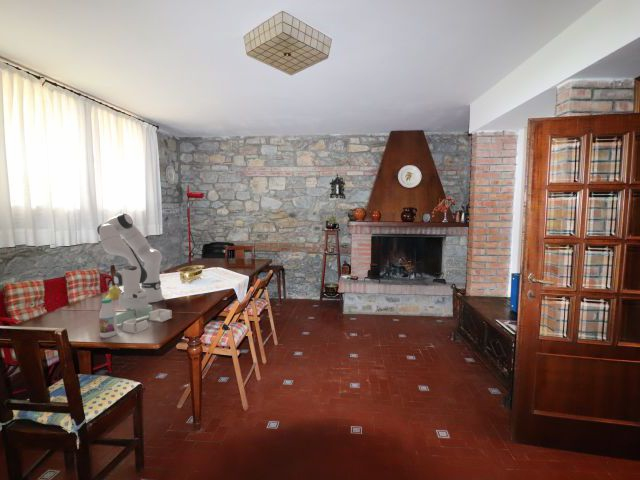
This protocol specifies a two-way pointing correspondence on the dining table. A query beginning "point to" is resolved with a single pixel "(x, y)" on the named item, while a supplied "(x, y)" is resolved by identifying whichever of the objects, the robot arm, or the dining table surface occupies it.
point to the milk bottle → (107, 319)
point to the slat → (132, 314)
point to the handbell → (113, 286)
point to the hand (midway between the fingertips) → (133, 315)
